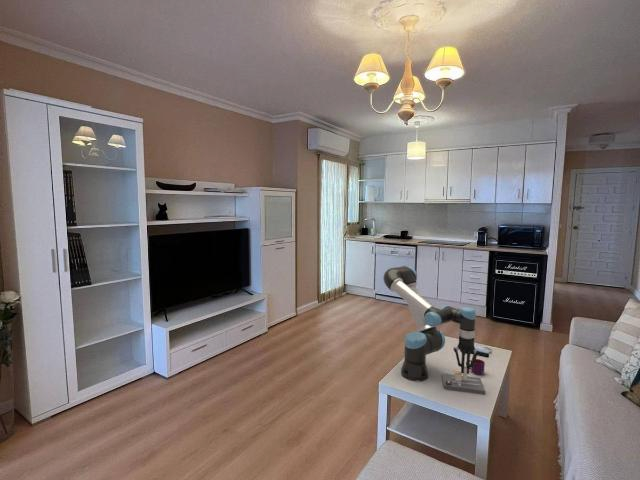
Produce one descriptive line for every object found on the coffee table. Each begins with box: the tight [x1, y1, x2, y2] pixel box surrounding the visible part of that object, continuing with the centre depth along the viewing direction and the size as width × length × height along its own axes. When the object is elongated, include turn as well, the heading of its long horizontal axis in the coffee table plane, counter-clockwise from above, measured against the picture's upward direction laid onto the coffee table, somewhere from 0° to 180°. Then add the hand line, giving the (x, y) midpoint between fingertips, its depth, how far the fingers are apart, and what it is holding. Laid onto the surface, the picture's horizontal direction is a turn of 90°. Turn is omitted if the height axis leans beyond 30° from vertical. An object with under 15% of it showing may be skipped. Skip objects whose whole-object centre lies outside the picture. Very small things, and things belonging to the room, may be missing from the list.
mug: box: [465, 358, 486, 376], centre depth 203 cm, size 7×10×7 cm
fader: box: [454, 370, 463, 382], centre depth 188 cm, size 3×3×5 cm
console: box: [441, 372, 486, 395], centre depth 188 cm, size 20×14×3 cm
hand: (464, 378), depth 188 cm, fingers closed
